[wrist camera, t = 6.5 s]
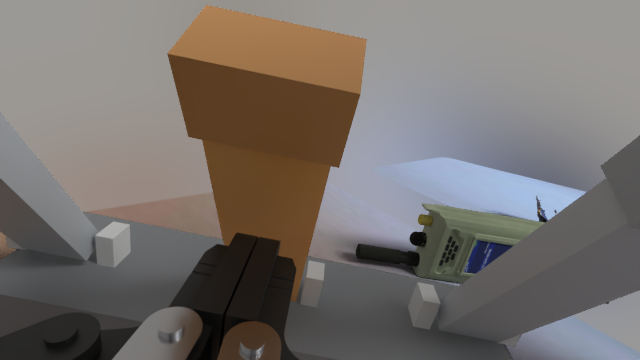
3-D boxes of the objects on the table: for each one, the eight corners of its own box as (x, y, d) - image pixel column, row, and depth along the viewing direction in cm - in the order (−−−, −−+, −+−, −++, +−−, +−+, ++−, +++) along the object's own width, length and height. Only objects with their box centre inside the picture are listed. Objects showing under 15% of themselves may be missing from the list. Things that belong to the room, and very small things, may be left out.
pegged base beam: (467, 321, 25) (493, 269, 23) (520, 436, 18) (564, 372, 16) (74, 244, 25) (68, 183, 23) (-41, 329, 17) (-64, 249, 15)
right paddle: (496, 309, 20) (829, 137, 8) (504, 348, 19) (912, 210, 7) (433, 296, 20) (678, 105, 8) (435, 335, 19) (733, 172, 7)
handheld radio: (614, 310, 31) (356, 275, 28) (585, 287, 34) (351, 253, 31) (652, 249, 29) (375, 205, 26) (618, 231, 32) (368, 189, 29)
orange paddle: (304, 271, 20) (366, 39, 8) (298, 308, 19) (359, 94, 7) (239, 258, 20) (206, 4, 8) (228, 294, 18) (167, 53, 7)
